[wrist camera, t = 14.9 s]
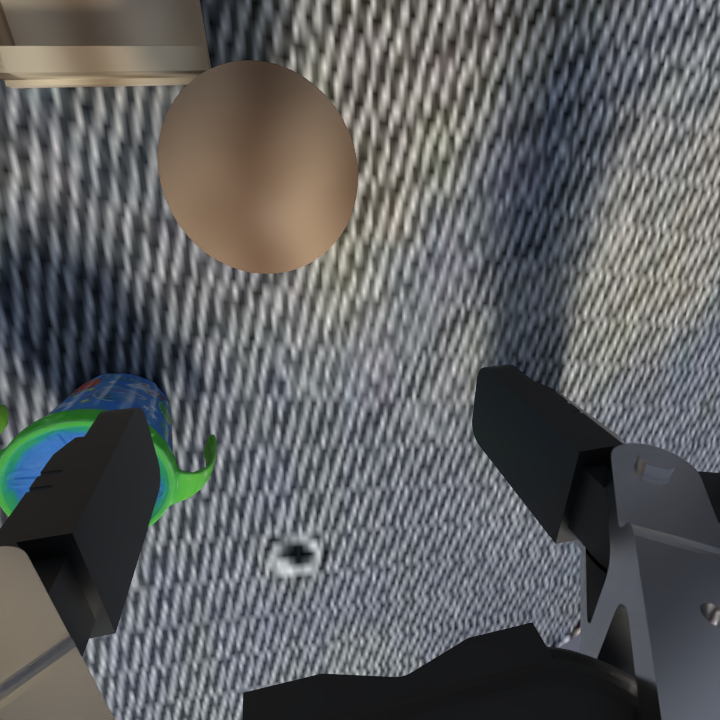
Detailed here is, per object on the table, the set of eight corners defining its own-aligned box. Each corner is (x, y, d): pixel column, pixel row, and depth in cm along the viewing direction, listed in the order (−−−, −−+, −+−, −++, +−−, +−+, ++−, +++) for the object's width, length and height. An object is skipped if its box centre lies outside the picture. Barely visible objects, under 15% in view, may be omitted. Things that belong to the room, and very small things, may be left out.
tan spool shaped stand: (316, 91, 30) (352, 59, 20) (328, 234, 34) (362, 263, 25) (169, 94, 28) (131, 60, 18) (201, 246, 32) (184, 283, 23)
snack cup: (235, 382, 38) (233, 451, 29) (197, 472, 41) (185, 560, 32) (33, 323, 32) (-48, 387, 23) (6, 434, 35) (-74, 529, 26)
